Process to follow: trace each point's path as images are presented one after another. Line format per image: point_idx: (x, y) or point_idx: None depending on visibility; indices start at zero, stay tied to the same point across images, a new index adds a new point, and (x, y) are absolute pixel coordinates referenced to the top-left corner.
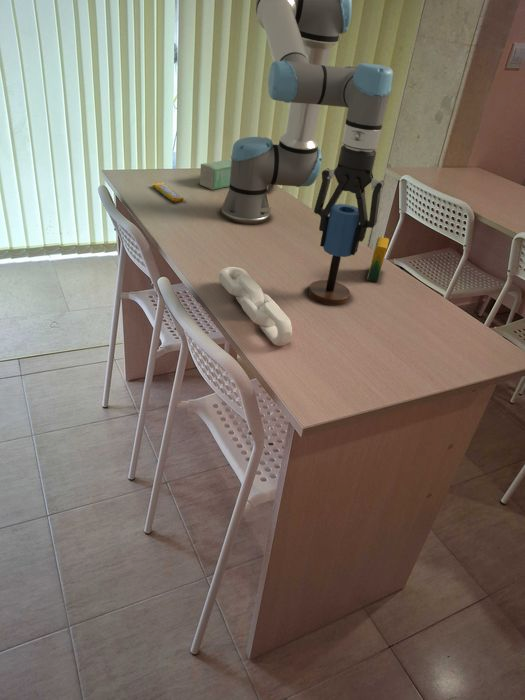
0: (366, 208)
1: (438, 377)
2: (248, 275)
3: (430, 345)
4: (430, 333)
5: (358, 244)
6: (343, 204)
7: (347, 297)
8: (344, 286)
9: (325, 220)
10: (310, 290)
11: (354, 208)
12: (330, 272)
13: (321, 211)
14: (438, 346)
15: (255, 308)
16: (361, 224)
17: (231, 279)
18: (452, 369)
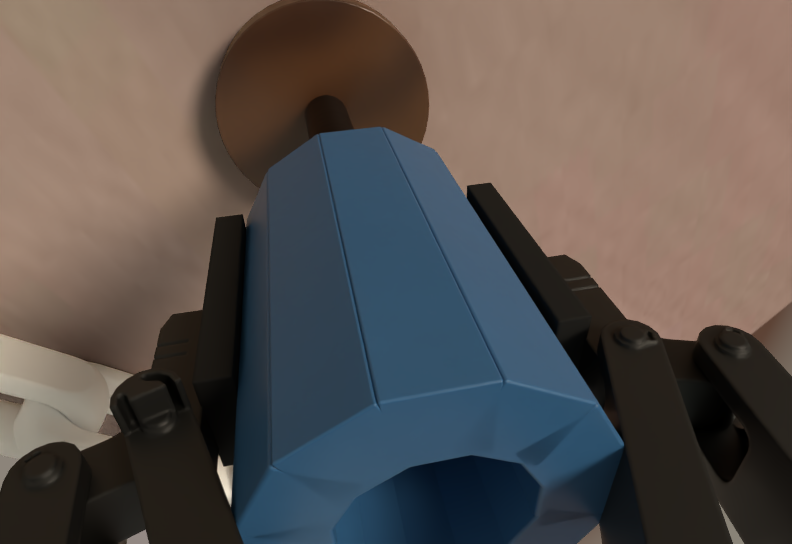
0: (711, 483)
1: (735, 316)
2: (12, 386)
3: (745, 193)
4: (762, 117)
5: (510, 209)
6: (334, 443)
7: (426, 124)
8: (375, 22)
9: (232, 458)
10: (252, 181)
11: (523, 438)
12: None
13: (143, 524)
14: (771, 181)
15: (230, 501)
16: None
17: (2, 448)
18: (782, 265)
